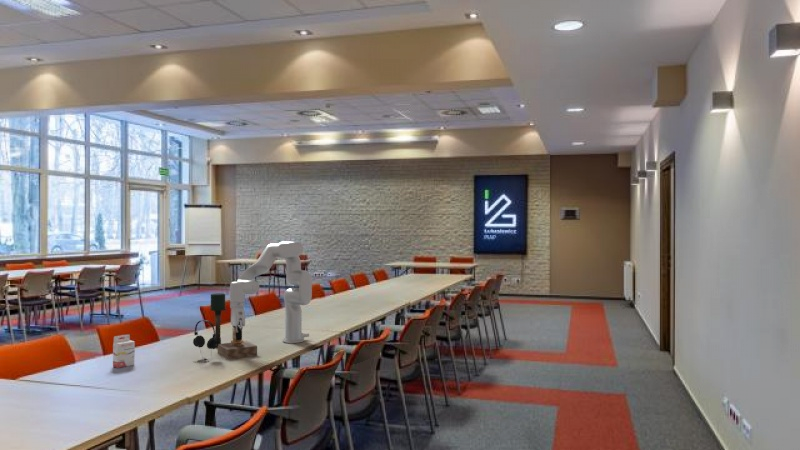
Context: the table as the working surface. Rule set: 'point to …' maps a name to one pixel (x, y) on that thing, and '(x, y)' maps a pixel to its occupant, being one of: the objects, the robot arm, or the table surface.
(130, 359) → the ink cartridge box
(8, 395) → the table surface
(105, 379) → the table surface
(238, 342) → the peg
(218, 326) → the stick grenade
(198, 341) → the headphones
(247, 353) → the socket block
